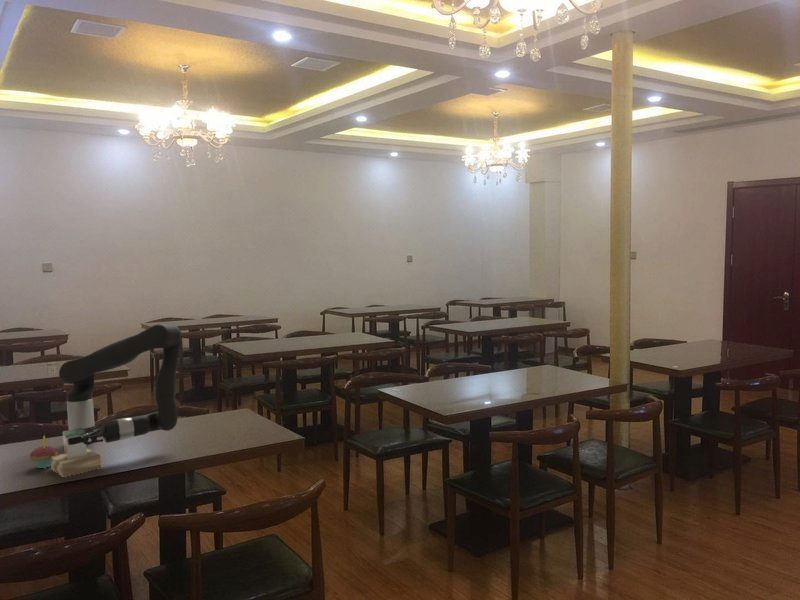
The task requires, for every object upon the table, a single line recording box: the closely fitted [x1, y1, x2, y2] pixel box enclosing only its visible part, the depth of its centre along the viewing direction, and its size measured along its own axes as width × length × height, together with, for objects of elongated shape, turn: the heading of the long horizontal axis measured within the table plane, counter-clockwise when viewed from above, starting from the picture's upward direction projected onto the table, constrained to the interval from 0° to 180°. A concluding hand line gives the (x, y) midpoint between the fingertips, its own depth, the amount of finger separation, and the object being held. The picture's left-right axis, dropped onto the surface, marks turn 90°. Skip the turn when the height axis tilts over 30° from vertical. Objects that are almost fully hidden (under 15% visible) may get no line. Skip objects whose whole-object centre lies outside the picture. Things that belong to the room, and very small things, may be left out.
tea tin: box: [62, 428, 88, 460], centre depth 223 cm, size 6×6×8 cm
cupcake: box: [29, 434, 59, 469], centre depth 226 cm, size 9×8×12 cm
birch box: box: [50, 448, 102, 478], centre depth 223 cm, size 12×12×5 cm
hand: (66, 439), depth 221 cm, fingers closed on tea tin, 6 cm apart
